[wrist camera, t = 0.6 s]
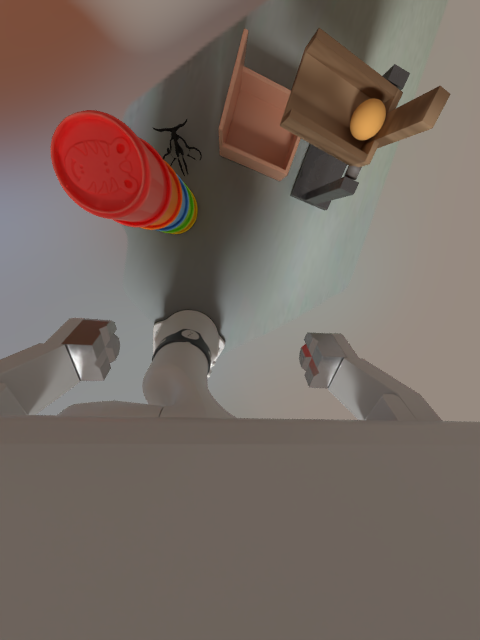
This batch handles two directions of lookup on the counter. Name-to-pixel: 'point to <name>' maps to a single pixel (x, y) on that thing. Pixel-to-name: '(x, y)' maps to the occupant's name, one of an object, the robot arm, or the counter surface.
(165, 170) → the stacking cups
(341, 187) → the lever stand
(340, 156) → the lever
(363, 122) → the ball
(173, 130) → the creature
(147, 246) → the counter surface
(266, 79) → the cup
